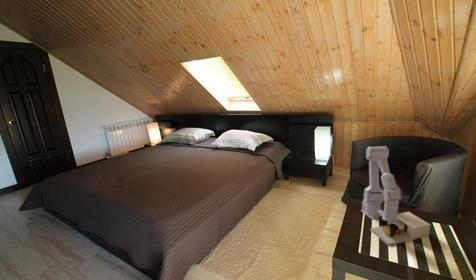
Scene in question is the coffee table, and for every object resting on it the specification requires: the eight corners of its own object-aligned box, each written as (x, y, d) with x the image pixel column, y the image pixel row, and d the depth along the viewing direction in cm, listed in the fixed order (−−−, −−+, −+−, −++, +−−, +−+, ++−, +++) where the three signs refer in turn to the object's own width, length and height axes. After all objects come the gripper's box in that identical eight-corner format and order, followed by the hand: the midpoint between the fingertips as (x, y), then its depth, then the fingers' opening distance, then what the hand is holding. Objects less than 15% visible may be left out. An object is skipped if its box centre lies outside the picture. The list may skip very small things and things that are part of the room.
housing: (370, 230, 120) (371, 219, 118) (407, 222, 124) (408, 211, 122) (388, 245, 109) (389, 233, 107) (428, 236, 112) (430, 224, 111)
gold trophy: (381, 230, 117) (381, 223, 116) (403, 225, 120) (404, 218, 118) (389, 237, 112) (390, 230, 111) (412, 232, 114) (413, 224, 113)
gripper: (372, 203, 118) (371, 225, 121) (396, 219, 104) (393, 243, 107) (384, 201, 119) (382, 222, 122) (408, 216, 105) (405, 240, 108)
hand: (388, 232), depth 115 cm, fingers closed on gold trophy, 4 cm apart
